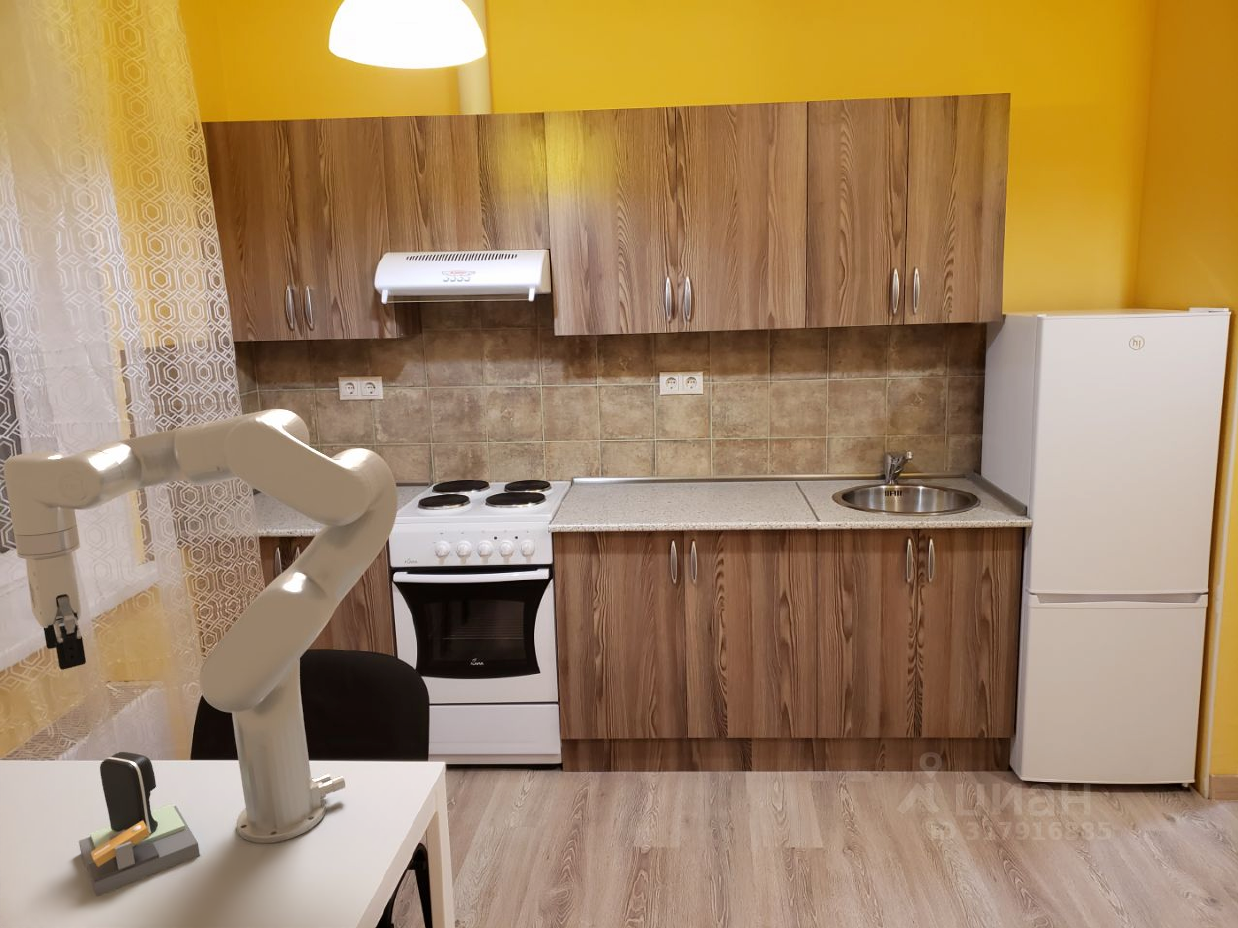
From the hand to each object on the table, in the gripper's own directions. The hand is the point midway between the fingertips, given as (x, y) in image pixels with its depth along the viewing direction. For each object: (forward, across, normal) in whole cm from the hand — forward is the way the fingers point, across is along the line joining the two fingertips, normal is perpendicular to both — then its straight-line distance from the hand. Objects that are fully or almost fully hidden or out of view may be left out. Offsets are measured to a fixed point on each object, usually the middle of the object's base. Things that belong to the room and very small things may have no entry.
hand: (66, 655), depth 133 cm
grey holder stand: (+28, +12, +4) cm, 30 cm away
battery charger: (+25, +9, +4) cm, 27 cm away
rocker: (+23, +15, +1) cm, 27 cm away
